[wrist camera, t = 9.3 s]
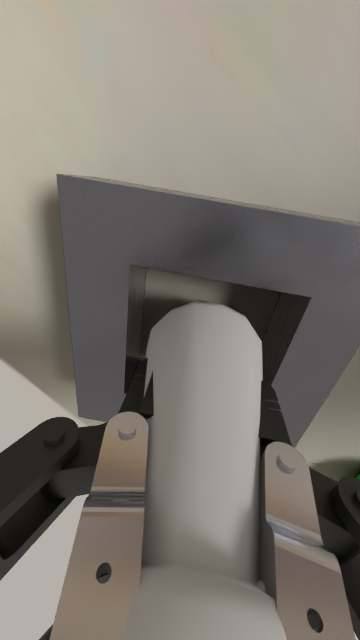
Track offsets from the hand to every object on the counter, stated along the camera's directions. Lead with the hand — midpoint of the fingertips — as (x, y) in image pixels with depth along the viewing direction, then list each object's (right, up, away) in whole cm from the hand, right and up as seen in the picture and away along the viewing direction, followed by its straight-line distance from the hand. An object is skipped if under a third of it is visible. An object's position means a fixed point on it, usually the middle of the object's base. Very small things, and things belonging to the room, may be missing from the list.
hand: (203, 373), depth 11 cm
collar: (0, +2, +4) cm, 5 cm away
